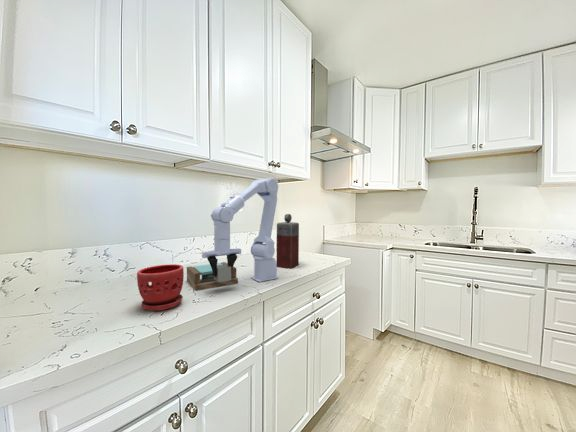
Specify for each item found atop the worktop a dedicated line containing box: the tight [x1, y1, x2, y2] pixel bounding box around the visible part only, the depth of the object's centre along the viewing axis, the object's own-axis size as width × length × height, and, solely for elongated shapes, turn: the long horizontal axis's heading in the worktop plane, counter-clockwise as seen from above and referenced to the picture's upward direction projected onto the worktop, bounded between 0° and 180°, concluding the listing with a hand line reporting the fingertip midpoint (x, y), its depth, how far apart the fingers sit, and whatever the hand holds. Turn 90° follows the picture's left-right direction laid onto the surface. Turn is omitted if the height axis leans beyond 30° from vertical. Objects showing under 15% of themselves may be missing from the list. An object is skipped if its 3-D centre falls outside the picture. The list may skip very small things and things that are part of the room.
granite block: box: [213, 264, 231, 282], centre depth 92 cm, size 5×5×5 cm
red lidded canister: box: [275, 213, 300, 270], centre depth 132 cm, size 9×11×28 cm
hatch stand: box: [186, 261, 239, 291], centre depth 103 cm, size 17×15×6 cm
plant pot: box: [136, 263, 185, 312], centre depth 78 cm, size 13×13×12 cm
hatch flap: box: [192, 262, 223, 281], centre depth 103 cm, size 12×12×3 cm
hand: (222, 274), depth 92 cm, fingers closed on granite block, 5 cm apart
